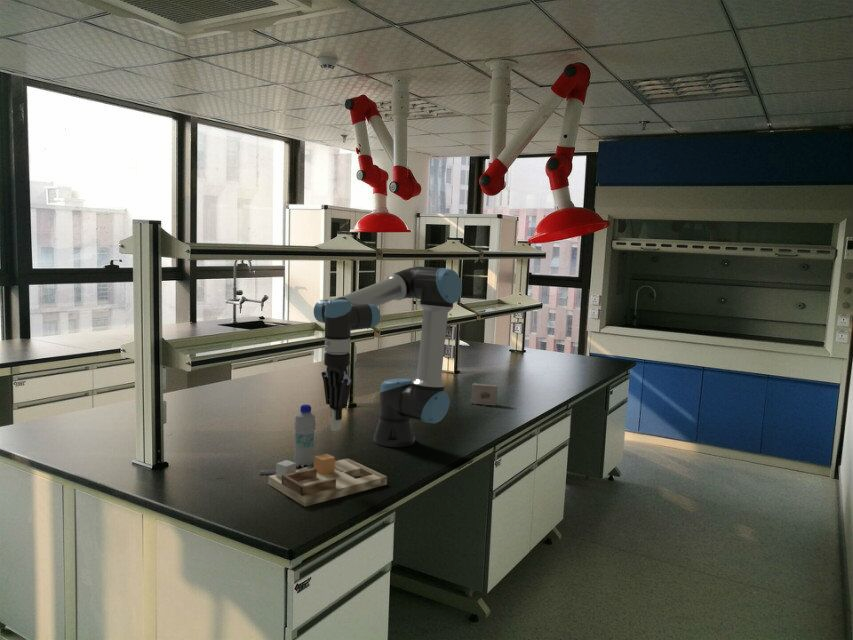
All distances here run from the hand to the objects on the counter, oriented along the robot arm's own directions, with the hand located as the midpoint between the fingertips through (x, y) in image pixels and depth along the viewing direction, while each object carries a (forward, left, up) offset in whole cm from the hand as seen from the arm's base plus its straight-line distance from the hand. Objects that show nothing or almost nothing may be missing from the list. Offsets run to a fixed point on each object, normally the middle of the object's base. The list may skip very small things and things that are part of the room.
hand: (335, 429), depth 194 cm
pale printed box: (-113, -41, -16) cm, 121 cm away
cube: (+2, -3, -13) cm, 14 cm away
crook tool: (+12, -14, -16) cm, 24 cm away
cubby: (+12, +5, -13) cm, 18 cm away
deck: (+3, +2, -16) cm, 16 cm away
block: (+13, -5, -13) cm, 20 cm away
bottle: (0, -16, -16) cm, 23 cm away
